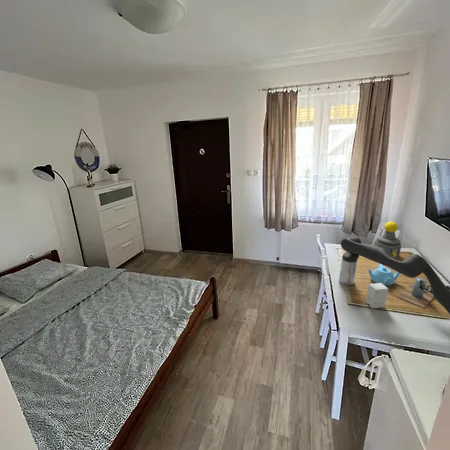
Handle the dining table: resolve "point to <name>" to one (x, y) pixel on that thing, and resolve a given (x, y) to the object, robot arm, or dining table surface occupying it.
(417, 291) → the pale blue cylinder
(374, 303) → the small box
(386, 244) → the toy tesla coil
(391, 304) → the dining table surface
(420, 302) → the placemat
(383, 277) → the teapot
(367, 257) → the robot arm
